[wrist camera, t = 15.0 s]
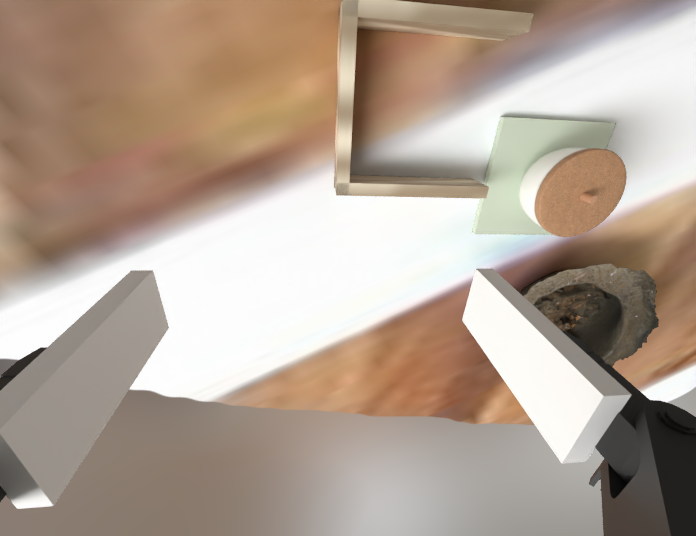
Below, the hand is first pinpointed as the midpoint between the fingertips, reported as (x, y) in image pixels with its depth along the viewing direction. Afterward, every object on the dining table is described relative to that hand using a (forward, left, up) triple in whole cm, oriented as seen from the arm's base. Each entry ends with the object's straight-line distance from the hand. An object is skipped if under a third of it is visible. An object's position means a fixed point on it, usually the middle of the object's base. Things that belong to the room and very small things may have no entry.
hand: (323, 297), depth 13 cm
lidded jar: (+1, +32, -31) cm, 44 cm away
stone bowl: (+24, +42, -32) cm, 58 cm away
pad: (+1, +32, -32) cm, 45 cm away
